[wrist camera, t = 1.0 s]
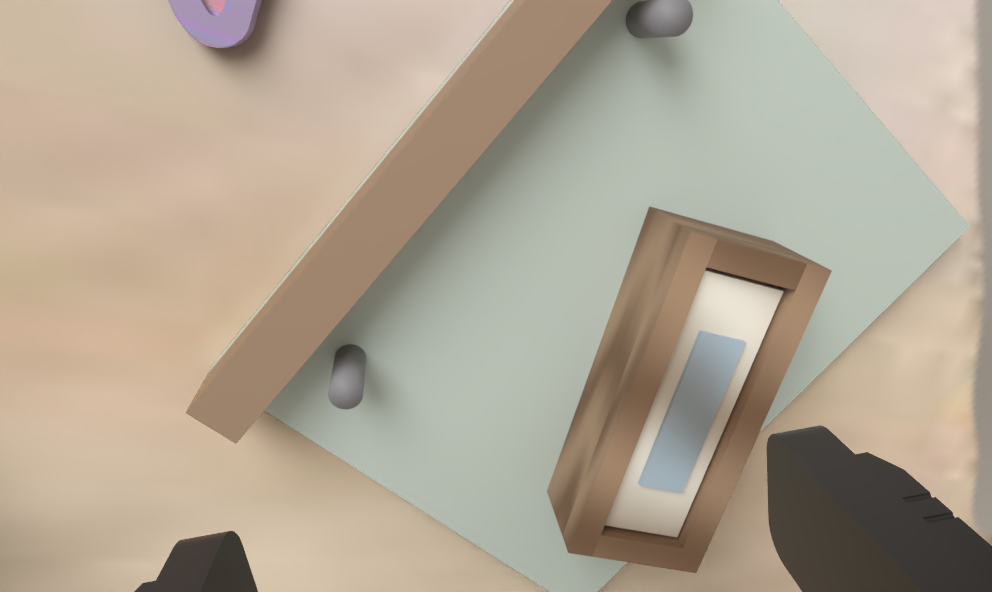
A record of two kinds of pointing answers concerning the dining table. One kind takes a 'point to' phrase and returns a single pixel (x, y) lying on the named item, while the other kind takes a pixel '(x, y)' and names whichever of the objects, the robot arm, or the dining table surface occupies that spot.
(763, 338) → the frame
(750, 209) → the wall panel
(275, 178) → the dining table surface
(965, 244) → the dining table surface
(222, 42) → the icon
